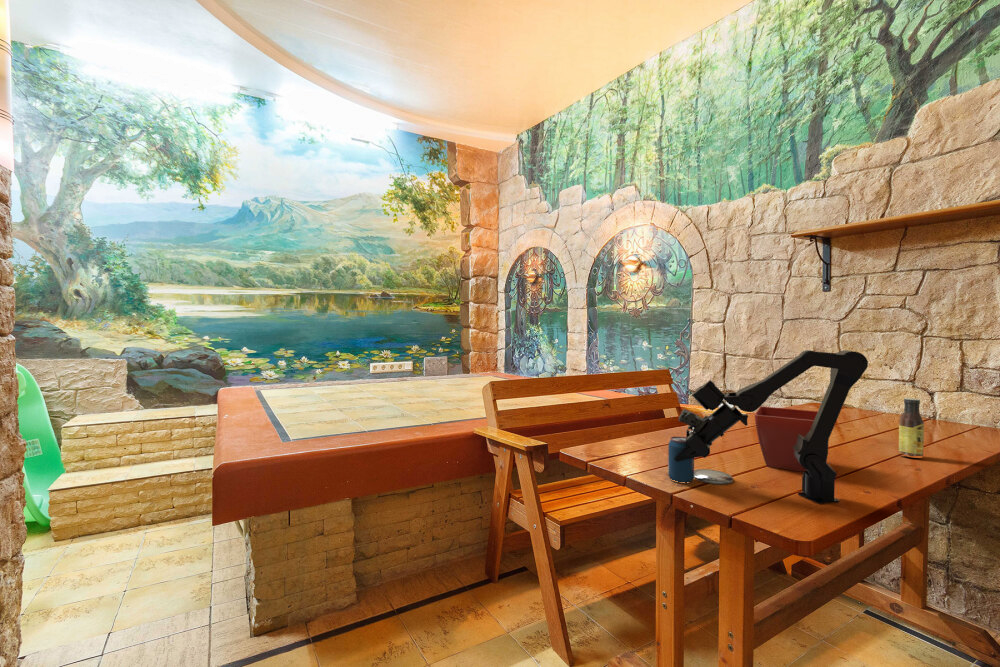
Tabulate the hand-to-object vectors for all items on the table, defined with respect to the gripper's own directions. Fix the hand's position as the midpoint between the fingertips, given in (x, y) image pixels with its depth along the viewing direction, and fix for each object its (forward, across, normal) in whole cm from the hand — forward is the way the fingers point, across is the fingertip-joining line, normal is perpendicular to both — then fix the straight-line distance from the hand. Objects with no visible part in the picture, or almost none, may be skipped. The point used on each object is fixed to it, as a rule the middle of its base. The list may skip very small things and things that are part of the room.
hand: (675, 456), depth 129 cm
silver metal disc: (-2, -6, +12) cm, 13 cm away
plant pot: (-19, -30, +28) cm, 45 cm away
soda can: (+4, 0, +6) cm, 7 cm away
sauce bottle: (-47, -57, +56) cm, 93 cm away
